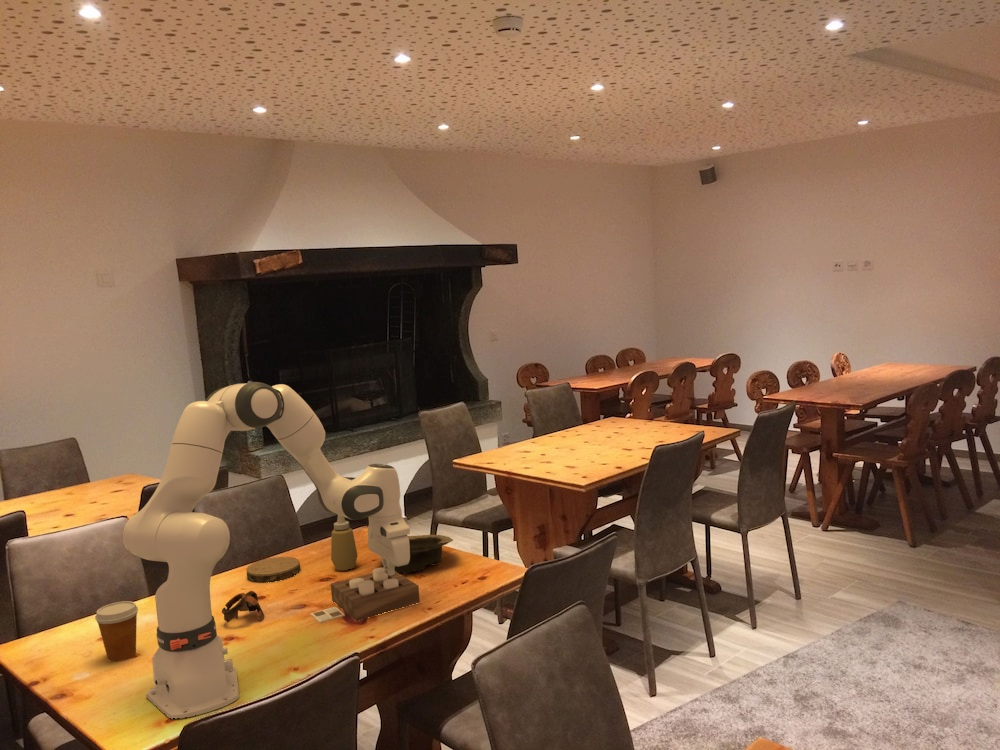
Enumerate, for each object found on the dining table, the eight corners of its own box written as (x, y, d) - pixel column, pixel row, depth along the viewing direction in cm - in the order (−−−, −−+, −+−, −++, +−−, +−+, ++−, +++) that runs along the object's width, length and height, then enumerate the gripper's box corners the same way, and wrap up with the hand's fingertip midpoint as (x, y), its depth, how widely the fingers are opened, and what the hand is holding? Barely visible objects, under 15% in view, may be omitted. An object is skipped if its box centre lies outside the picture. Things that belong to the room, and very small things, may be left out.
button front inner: (377, 601, 216) (375, 583, 216) (363, 605, 214) (361, 586, 214) (371, 597, 220) (370, 579, 219) (357, 600, 218) (356, 582, 217)
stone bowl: (405, 583, 234) (400, 552, 234) (359, 571, 253) (355, 542, 253) (471, 559, 250) (467, 530, 250) (424, 550, 269) (420, 522, 269)
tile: (345, 615, 214) (344, 614, 214) (319, 623, 210) (319, 621, 210) (335, 608, 220) (335, 606, 220) (310, 614, 216) (310, 613, 216)
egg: (367, 598, 222) (366, 580, 222) (353, 602, 220) (352, 584, 220) (362, 594, 226) (360, 576, 225) (348, 598, 224) (346, 580, 223)
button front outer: (402, 599, 220) (400, 581, 219) (388, 603, 218) (386, 584, 217) (395, 595, 223) (394, 577, 223) (382, 598, 221) (380, 580, 221)
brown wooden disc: (254, 588, 241) (253, 578, 241) (241, 573, 255) (240, 564, 254) (307, 575, 249) (306, 566, 248) (292, 562, 262) (291, 553, 262)
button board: (419, 603, 219) (418, 585, 218) (356, 621, 210) (354, 602, 209) (392, 585, 234) (390, 568, 234) (332, 601, 225) (330, 583, 224)
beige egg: (391, 587, 226) (389, 570, 225) (377, 591, 224) (376, 573, 223) (385, 583, 229) (383, 566, 229) (371, 587, 227) (370, 569, 227)
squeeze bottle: (356, 571, 248) (350, 514, 246) (329, 573, 248) (324, 515, 246) (360, 563, 256) (355, 507, 254) (335, 564, 256) (329, 508, 254)
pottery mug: (261, 627, 211) (241, 605, 209) (232, 643, 213) (212, 620, 211) (274, 599, 222) (255, 577, 220) (246, 614, 224) (227, 592, 222)
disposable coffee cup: (115, 667, 192) (109, 618, 191) (92, 660, 197) (86, 612, 196) (151, 651, 200) (146, 603, 199) (127, 644, 205) (122, 598, 204)
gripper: (360, 518, 225) (364, 567, 227) (390, 533, 208) (394, 586, 209) (381, 513, 229) (385, 562, 230) (412, 529, 211) (416, 581, 212)
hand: (389, 574), depth 219 cm, fingers closed
